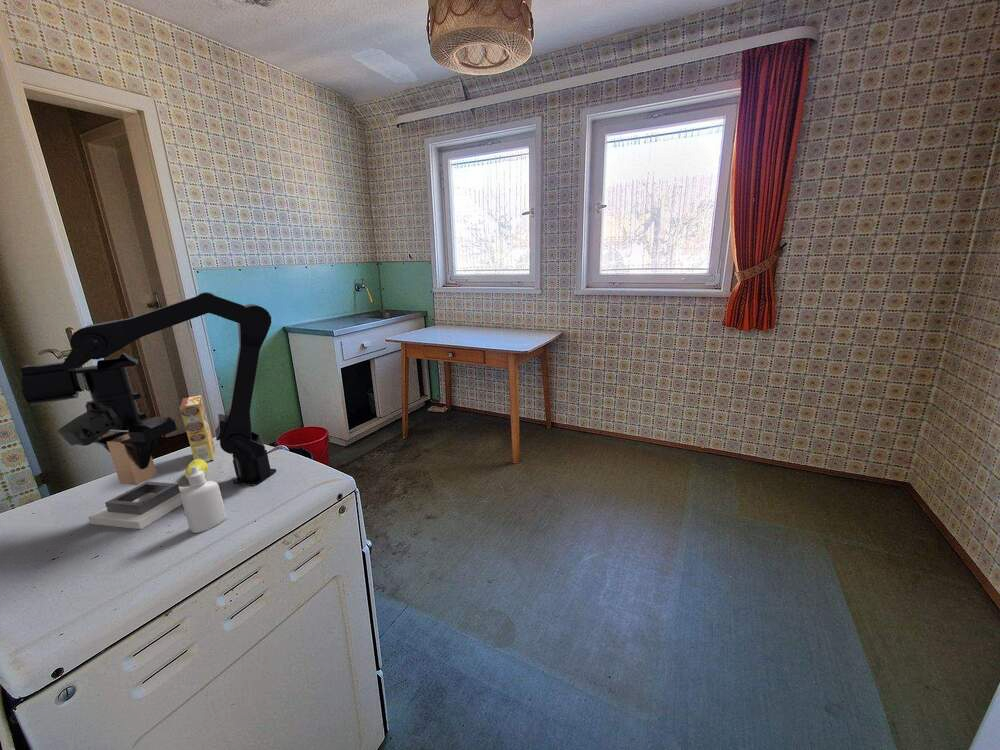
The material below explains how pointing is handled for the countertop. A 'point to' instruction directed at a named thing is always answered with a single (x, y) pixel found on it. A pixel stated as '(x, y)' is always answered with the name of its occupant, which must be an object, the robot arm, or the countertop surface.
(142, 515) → the collar plate
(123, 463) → the wooden square prism
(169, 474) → the countertop surface
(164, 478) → the countertop surface
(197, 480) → the eye dropper bottle
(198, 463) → the yellow elongated oval piece
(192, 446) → the candy box
